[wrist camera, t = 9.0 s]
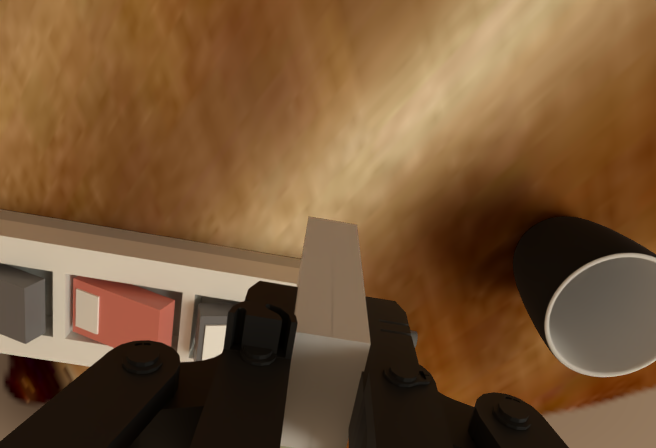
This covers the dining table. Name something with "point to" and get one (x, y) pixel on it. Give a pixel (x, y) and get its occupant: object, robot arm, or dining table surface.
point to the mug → (589, 295)
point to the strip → (126, 277)
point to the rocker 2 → (210, 330)
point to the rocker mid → (120, 312)
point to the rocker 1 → (21, 304)
